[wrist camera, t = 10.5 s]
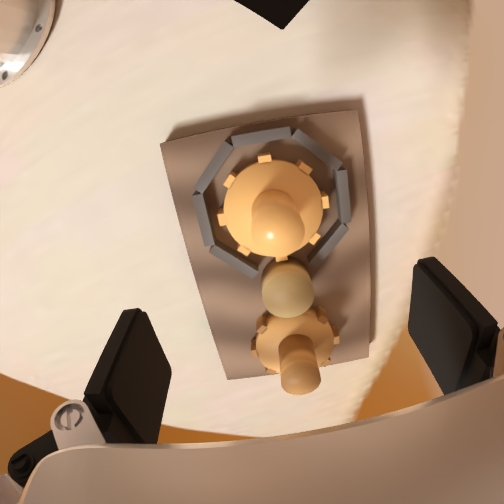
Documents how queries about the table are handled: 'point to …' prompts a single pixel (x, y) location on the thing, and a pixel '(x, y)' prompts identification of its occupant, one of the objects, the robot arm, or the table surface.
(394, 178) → the table surface
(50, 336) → the table surface
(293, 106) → the table surface
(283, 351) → the carrier
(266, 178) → the gear
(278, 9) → the black slotted bracket
